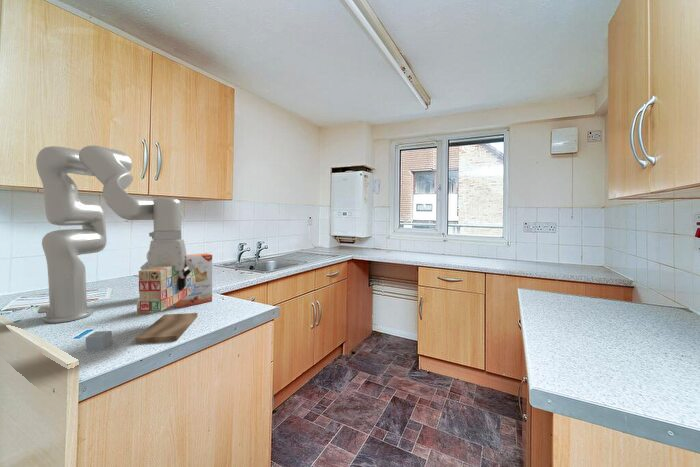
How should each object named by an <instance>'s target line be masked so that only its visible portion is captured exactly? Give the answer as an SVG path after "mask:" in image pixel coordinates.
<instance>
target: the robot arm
mask: <svg viewBox="0 0 700 467" xmlns="http://www.w3.org/2000/svg"><path fill="white" fill-rule="evenodd" d="M35 159H36V160H35V165H36V167H35V168H36V170H37V173H38V176H39V178H40V181H41V184H42V188H43V198H44V199H43V200H44V208H45V215H46V219H47V222H48V223H49V224H51V225H53V226H65V227H67V226H81V228H71V229H70V228H68V229H57V230H52V231H49V232H47V233H46V234H44V236H43V237H42V241H41V245H42V246H41V247H42V250H43V253H44V255H45V259H46V260H45V261H46V266H47V280H48V282H47V283H48V297H49V298H48V299H49V300H48V302H49V305H43V306H42V305H41V306H40V307H39V309H37V313H38V314H46V315H45V316H44V317H43V321H44V322H45V323H49V324H50V323H51V324H52V323H53V324H55V323H67V322H70V321H71V322H72V321H77V320H79V319H83V318H86V317H89V316H90V315H92V314H93V313H94V309H93V308H91V307H88V302H87V301H88V299H87V298H88V297H87V295H88V294H87V276H86V275H87V274H86V273H87V272H86V266H85V264H84V262H83V261H82V260H81V259H80V258H79V257H78V256H81V255H90V254H96V253H99V252H101V251H103V250H104V249H105V248H106V246H107V240H108V239H107V227H106V226H107V225H106V216H105V211H104V209H103V207H102V206H101V205H100V204H99V203H98V202H97V201H94V200H89V199H80V198H79V189H78V186H77V184H76V182H75V181H74V180H73V179H72V177H70V175H68V174H74V175H81V176H90V177H95V178H96V179H97V180H98V181H99V183H101V184H102V185H103V187H102V196H103V200H104V203H105V204H106V205H107V207H108V208H110V209H111V211H112V212H113V213H115V214H116V215H117V216H118V217H120V218H122V219H123V220H126V221H153V231H152V232H148V235H149V237H150V238H152V237H153V239H154V240H150V243H149V250H148V251H149V257H148V260H147V261H146V262H145V263H144V264H143V265H142V266H140V270H143V269H147V268H150V267H153V266H175V267H174V269H175V271H177V272H178V274H179V276H180V279H179V291H181V290H183V289H184V287H186V276H187V275H188V274H189V273H190V272H191V271H192V270H193V269H194V268H195V267H196V265H194V264H193V263H192V262H191V261H189V260H188V259H187V255H188V254H187V248H186V244H185V240H184V239H182V213H181V212H182V208H181V201H180V200H179V199H178V198H175V197H174V198H173V197H172V198H170V197H150V196H149V197H147V196H136V195H135V196H133V195H130V194H129V193H127V191H125V189H127V188H128V187H130V186H131V184H132V182H133V180H134V177H133V173H131V170H132V168H133V163H132V162H133V161H132V160H131V158H130V156H129V155H128V154H126V153H125V152H123V151H121V150H117V149H113V148H108V147H106V146H105V147H104V146H100V145H87V146H84V147H82V148H81V149H80V150H79V149H76V148H70V147H65V146H55V145H53V146H50V145H49V146H46V147H44V148H41V149H40V150H39V152H38V153H37V155H36V158H35ZM187 265H188V266H189V268H188V270H186V271H185V270H184V268H186V267H187Z"/></svg>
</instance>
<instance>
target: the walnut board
mask: <svg viewBox="0 0 700 467" xmlns="http://www.w3.org/2000/svg"><path fill="white" fill-rule="evenodd" d="M197 318H198V312H189V313H170V314H168V313H167V314H163V315H162V316H161V317H159V318H158V319H157V320H156V321H155V322H154V323H153V322H152V324H151V325H150V326H148V327H147V328H146V329H144V330H143V332H141V333H140V334H139V335H138V336H136V337H135V338H134V340H135V344H147V343H160V342H177V341H178V340H179V339H180V338H181V336H182V335H183V334H184V333H185V332H186V331H187V330H188V328H189V327H190V326H191V325H192V324H193V323H194V321H195V320H196V319H197Z"/></svg>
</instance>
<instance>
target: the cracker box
mask: <svg viewBox="0 0 700 467" xmlns="http://www.w3.org/2000/svg"><path fill="white" fill-rule="evenodd" d="M186 255H187V259H188V260H189V261H191V262H192V263H193V264H194V265H196V267H195V292H193V293H191V294H190V295H188V296H186V297H184V298H182V299H181V300H179V301H178V302H176V303H175V304H173V305H172V306H174V307H175V308H176V309H178V308H185V307H189V306H194V305H199V304H205V303H210V302H212V301H213V254H211V253H207V252H206V253H193V254H186ZM187 267H189V266H188V265H187Z"/></svg>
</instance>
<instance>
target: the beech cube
mask: <svg viewBox="0 0 700 467" xmlns="http://www.w3.org/2000/svg"><path fill="white" fill-rule="evenodd" d="M154 312H155V311H140V298H137V301H136V316H138V317H139V316H144V315H151V314H154Z"/></svg>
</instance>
